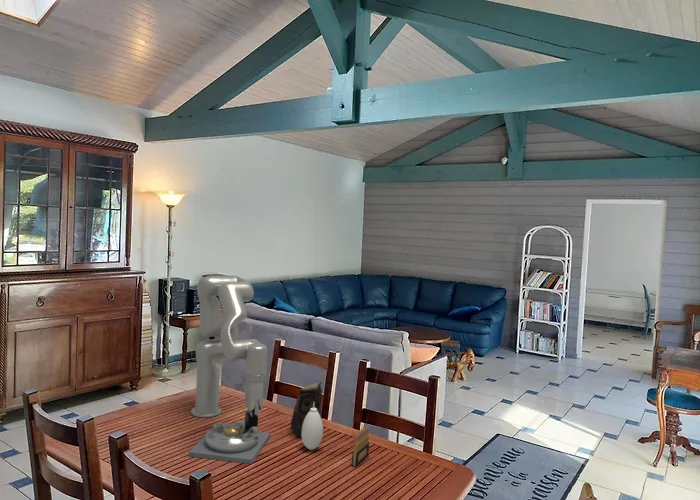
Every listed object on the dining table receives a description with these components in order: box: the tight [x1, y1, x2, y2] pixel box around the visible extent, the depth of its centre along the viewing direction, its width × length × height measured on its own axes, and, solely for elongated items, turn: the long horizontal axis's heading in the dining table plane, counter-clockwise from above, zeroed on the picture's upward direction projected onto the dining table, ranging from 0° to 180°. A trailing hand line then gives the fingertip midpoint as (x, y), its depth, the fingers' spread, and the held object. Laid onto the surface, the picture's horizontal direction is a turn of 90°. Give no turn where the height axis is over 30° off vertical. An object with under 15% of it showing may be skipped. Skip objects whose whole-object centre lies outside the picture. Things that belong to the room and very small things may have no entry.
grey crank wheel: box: [205, 410, 259, 453], centre depth 186 cm, size 19×19×9 cm
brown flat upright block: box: [351, 424, 370, 468], centre depth 180 cm, size 11×2×12 cm, turn 154°
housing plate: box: [187, 431, 272, 465], centre depth 186 cm, size 23×23×2 cm
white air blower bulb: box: [301, 403, 324, 451], centre depth 188 cm, size 8×8×18 cm
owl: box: [290, 381, 323, 440], centre depth 201 cm, size 13×13×20 cm
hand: (252, 425), depth 187 cm, fingers closed
